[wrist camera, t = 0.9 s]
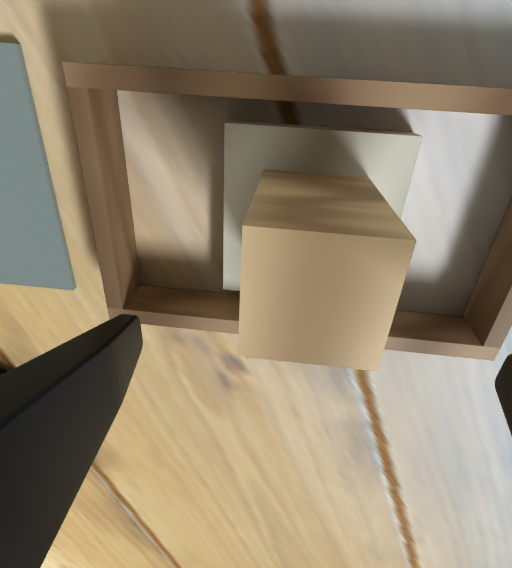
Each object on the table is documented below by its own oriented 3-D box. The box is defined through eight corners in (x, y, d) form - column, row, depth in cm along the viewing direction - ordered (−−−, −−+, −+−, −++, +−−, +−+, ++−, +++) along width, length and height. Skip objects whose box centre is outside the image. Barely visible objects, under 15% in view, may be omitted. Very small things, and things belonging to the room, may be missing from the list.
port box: (576, 93, 14) (628, 95, 12) (472, 330, 20) (494, 360, 18) (95, 64, 15) (61, 61, 13) (129, 295, 21) (109, 320, 19)
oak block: (368, 177, 15) (416, 240, 9) (349, 270, 17) (377, 371, 11) (264, 169, 15) (242, 225, 9) (258, 262, 18) (237, 356, 12)
